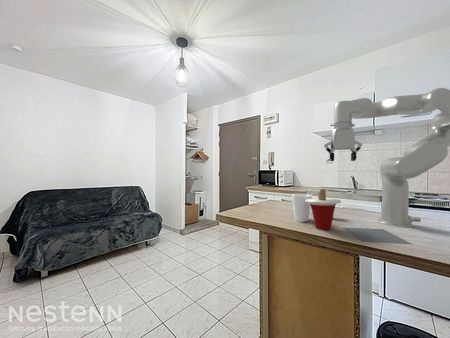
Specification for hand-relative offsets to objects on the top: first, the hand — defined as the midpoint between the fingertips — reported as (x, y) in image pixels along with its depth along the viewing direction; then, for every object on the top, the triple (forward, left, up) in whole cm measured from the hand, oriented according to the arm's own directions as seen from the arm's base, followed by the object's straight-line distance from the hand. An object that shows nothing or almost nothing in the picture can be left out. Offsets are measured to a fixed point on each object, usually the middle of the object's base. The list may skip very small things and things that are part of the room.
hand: (342, 160), depth 97 cm
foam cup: (+20, +2, -31) cm, 36 cm away
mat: (-3, +21, -30) cm, 37 cm away
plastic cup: (+14, +15, -31) cm, 37 cm away
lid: (+14, +15, -18) cm, 27 cm away
